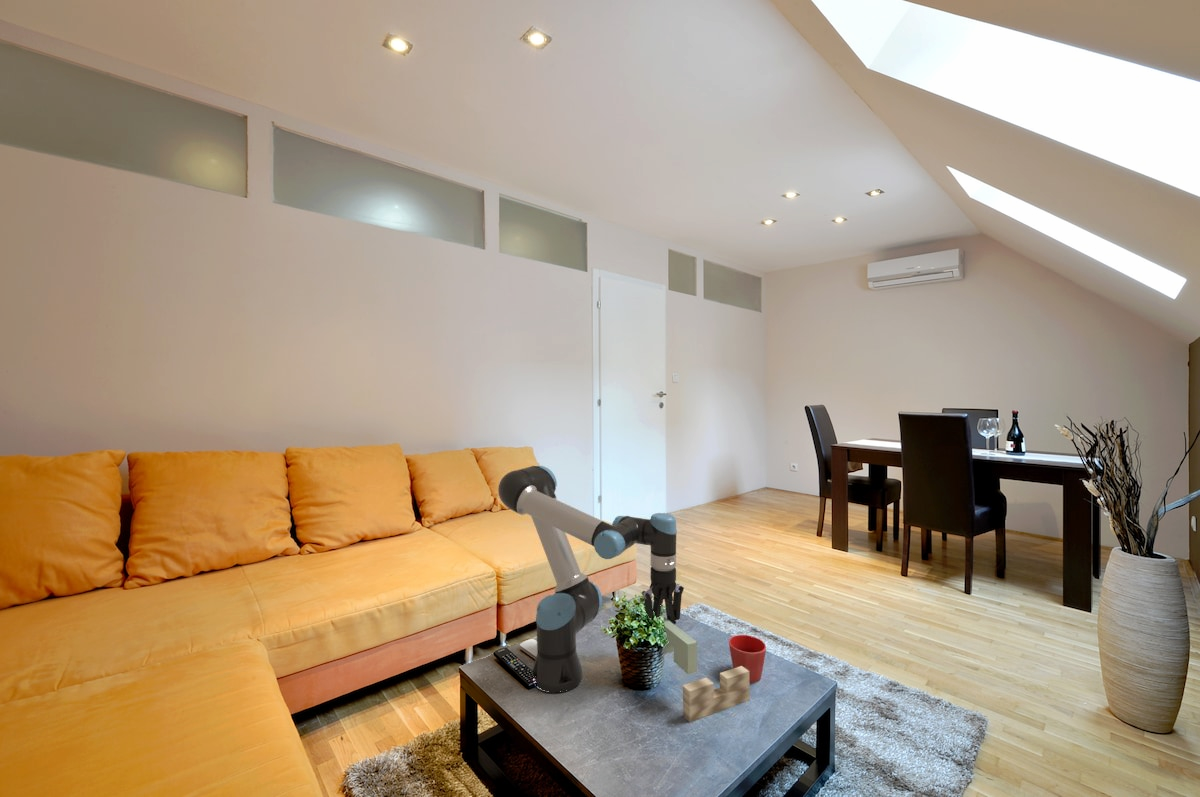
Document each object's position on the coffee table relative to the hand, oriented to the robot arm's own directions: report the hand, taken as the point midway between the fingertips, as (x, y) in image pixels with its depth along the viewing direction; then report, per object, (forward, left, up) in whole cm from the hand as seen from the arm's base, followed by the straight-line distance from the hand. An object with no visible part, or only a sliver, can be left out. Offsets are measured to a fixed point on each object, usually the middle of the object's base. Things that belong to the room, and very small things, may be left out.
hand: (662, 645), depth 143 cm
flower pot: (+23, +10, -11) cm, 28 cm away
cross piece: (+4, -4, -1) cm, 6 cm away
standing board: (+16, -8, -10) cm, 21 cm away
